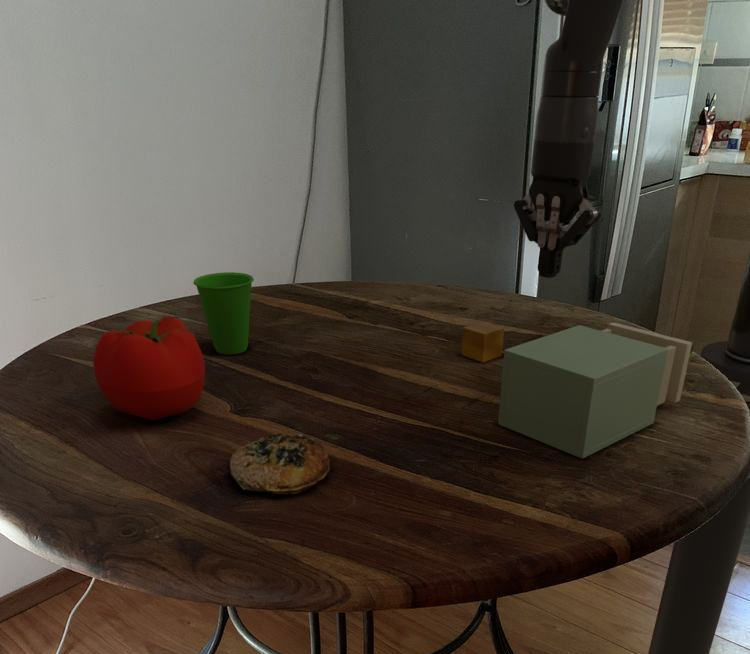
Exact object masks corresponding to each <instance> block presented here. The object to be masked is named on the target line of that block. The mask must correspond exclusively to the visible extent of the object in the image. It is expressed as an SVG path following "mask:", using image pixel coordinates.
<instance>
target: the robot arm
mask: <svg viewBox="0 0 750 654" xmlns="http://www.w3.org/2000/svg"><path fill="white" fill-rule="evenodd" d="M544 2H545V4H546V6H547V7H548V9H549V10H550V11H551V12H553V14H554V13H555V14H556V15H559V16H562V17H564V20H563V24H562V29H561V32H560V35H559V37H558V38H557V40H555V41H554V42H552V44H550V45H548V48H547V49H546V53H545V56H544V63H543V69H542V70H543V72H542V80H541V89H540V98H539V102H538V103H539V104H538V109H537V112H536V119H535V126H534V127H535V128H534V138H533V147H532V157H531V168H530V175H531V176H532V181H531V184H530V185H529V188H528V193H527V194H526V195H525V196H523V198H522V199H521V198H520V199H518V200H517V199H516V200H515V201H514V202H513V209H514V210H515V212H516V215H517V217H518V220H519V222H520V223H521V227H522V229H523V231H524V233H525V235H526V237H527V239H528V241H529V242H530V243H531V242H533V243H535V244H537V247H538V248H539V250H538V259H537V260H538V261H537V271H538V272H539V273H538V275H539V277H542V278H545V279H551V278H555V277H557V276H558V274H559V273H560V272H561V268H562V261H563V252H564V249H566V248H567V247H571V246H576V245H577V244H578V243H579V242H580V240H582V238H583V237H584V236H585V235H586V234H587V233H588V231H589V230H590V229H591V227H593V226H594V224H595V223H596V222H597V221H598V220H599V218H600V217H601V216H602V210H601V209H600V208H598V207H596V208H595V207H593V205H592V204H591V202H590V201H589V200H588V199H589V190H588V185H587V184H588V180H589V177H590V175H591V171H592V163H593V156H594V149H595V141H596V134H597V127H598V126H597V125H598V120H599V96H600V90H601V82H602V75H603V67H604V59H605V55H606V52H607V49H608V47H609V44H610V43H611V40H612V37H613V33H614V30H615V27H616V24H617V21H618V19H619V15H620V13H621V9H622V6H623V3H624V0H544ZM574 218H576V220H575V221H574ZM573 221H574V223H573ZM742 279H743V280H742V281H741V282H742V283H741V287H740V290H739V295H738V298H737V303H736V308H735V312H734V316H733V317H732V322H731V326H730V330H729V334H728V338H727V341H728V344H727V347H726V350H725V355H726V356H727V357H728V358H730V359H732V360H734V361H737V362H740V363H744V364H749V365H750V251H749V252H748V257H747V261H746V265H745V269H744V273H743V278H742Z"/></svg>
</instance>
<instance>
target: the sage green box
mask: <svg viewBox="0 0 750 654" xmlns="http://www.w3.org/2000/svg"><path fill="white" fill-rule="evenodd" d="M667 352H668V349H667V348H664V347H660V346H656V345H652V344H649V343H645V342H641V341H637V340H634V339H630V338H626V337H622V336H619V335H615V334H611V333H607V332H604V331H601V330H599V329H597V328H592V327H589V326H585V325H581V324H578V325H576V326H572V327H569V328H566V329H562V330H560V331H557V332H554V333H551V334H548V335H545V336H542V337H538V338H536V339H533V340H529V341H527V342H524V343H520V344H518V345H515V346H512V347H509V348H506V349H504V350H503V360H502V362H503V363H502V370H501V371H502V372H501V384H500V385H501V386H500V398H499V409H498V410H499V411H498V419H497V420H498V422H497V425H500V426H502V427H504V428H507V429H508V430H511V431H514V432H517V433H519V434H521V435H524V436H526V437H528V438H531V439H534V440H536V441H538V442H541V443H543V444H545V445H548V446H550V447H552V448H555V449H558V450H560V451H563V452H565V453H567V454H569V455H572V456H575V457H577V458H579V459H585V458H587V457H589V456H591V455H593V454H595V453H597V452H599V451H601V450H603V449H605V448H607V447H609V446H611V445H613V444H614V443H615V444H616V443H617V442H619V441H621V440H624V439H625V438H627V437H628V436H631V435H633V434H635V433H637V432H639V431H641V430H644V428H645V429H646V428H647V427H649V426H651V425H653V424H654V422H655V417H656V413H657V408H658V406H657V403H658V398H659V393H660V388H661V383H662V378H663V373H664V368H665V363H666V358H667Z"/></svg>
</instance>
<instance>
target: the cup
mask: <svg viewBox="0 0 750 654" xmlns="http://www.w3.org/2000/svg"><path fill="white" fill-rule="evenodd" d="M254 280H255V278H254V277H253V275H250V274H249V273H245V272H244V273H243V272H234V271H233V272H227V271H226V272H215V273H208V274H204V275H201V276H197V277H196V278H195V279H194V280H193V285H194V286H196V289H197V293H198V296H199V300H200V304H201V306H202V310H203V314H204V317H205V320H206V324H207V327H208V330H209V333H210V334H209V335H210V337H211V341H212V344H213V348H214V349H215V351H216V352H217V353H218V354H220V355H237V354H241V353H244V352H246V351H247V349H248V347H249V334H250V317H251V316H250V314H251V302H252V301H251V299H252V298H251V297H252V284H253V282H254Z"/></svg>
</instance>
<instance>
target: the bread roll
mask: <svg viewBox="0 0 750 654" xmlns="http://www.w3.org/2000/svg"><path fill="white" fill-rule="evenodd" d="M229 462H230V464H229V468H230V473H229V474H230V475H231V476H232V477H233V479H234V480H235V482H237V484H238V486H239V487H241V488H242V490H247V491H252V492H260V493H261V492H263V493H264V492H269V493H271V494H275V495H286V496H287V495H296V494H300V493H303V492H305V491H308V490H309V489H311V488H312V487H314V486H315V485H317V484H318V483H320V482H321V481H322V480H324V479H325V478H326V477H327V475H328V474H329V472H330V471H331V459H330V456H329V452H327V450H326V448H325V447H324V446H323V444H322V443H321V442H319V440H316V439H315V438H313V437H310V436H306V435H305V434H303V433H297V434H296V435H294V434H287V433H285V434H284V433H277V434H270V435H268V436H267V437H260V438H259V439H256V440H254V441H252V442H248V443H246V444H244V445H243V446H241V447H238V449H237V450H236V451H235V452H234V453H233V454H232V455H231V457H230V460H229Z"/></svg>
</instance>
